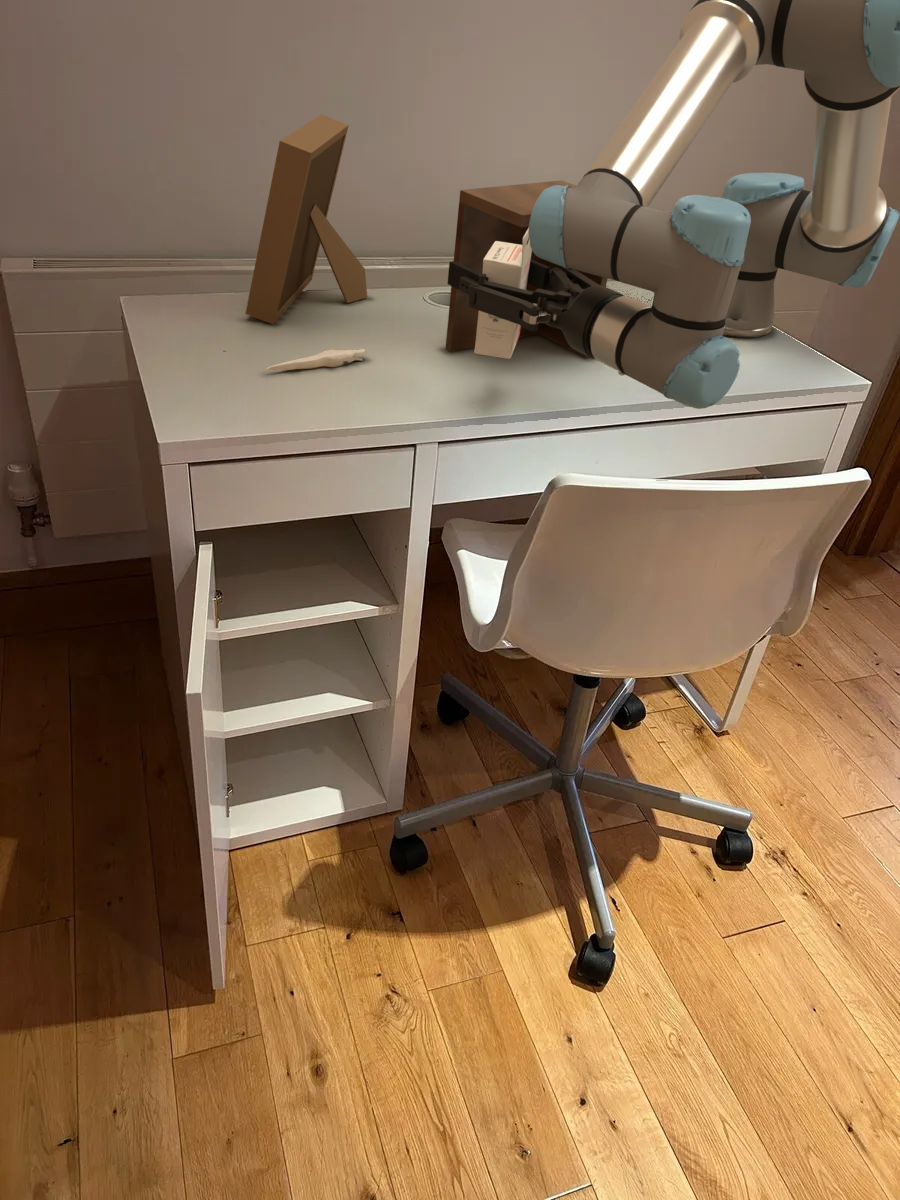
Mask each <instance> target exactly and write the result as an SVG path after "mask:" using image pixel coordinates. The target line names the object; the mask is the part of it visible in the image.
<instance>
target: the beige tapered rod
mask: <svg viewBox="0 0 900 1200" xmlns="http://www.w3.org/2000/svg"><path fill="white" fill-rule="evenodd" d="M365 354H367V349H365V348H362V349H361V348H360V349H357V350H356V349H344V350H342V349H326V350H323V351H321V352H320V353H317V354H314V355H310V356H309V355H308V356H305V357H301V358H297V359H293V360H288V361H284V362H280V363H277V364H273V365H271V366H268V367H267V368H265V369H266V370H268V371H290V370H300V369H301V370H303V369H315V368H320V367H329V368H336V367H340V366H343V365H345V364H346V365H347V364H349V363H352V362H354V361H359V362H360V361H361V362H362V361H364V359H363V358H361V357H359V355H365Z"/></svg>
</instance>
